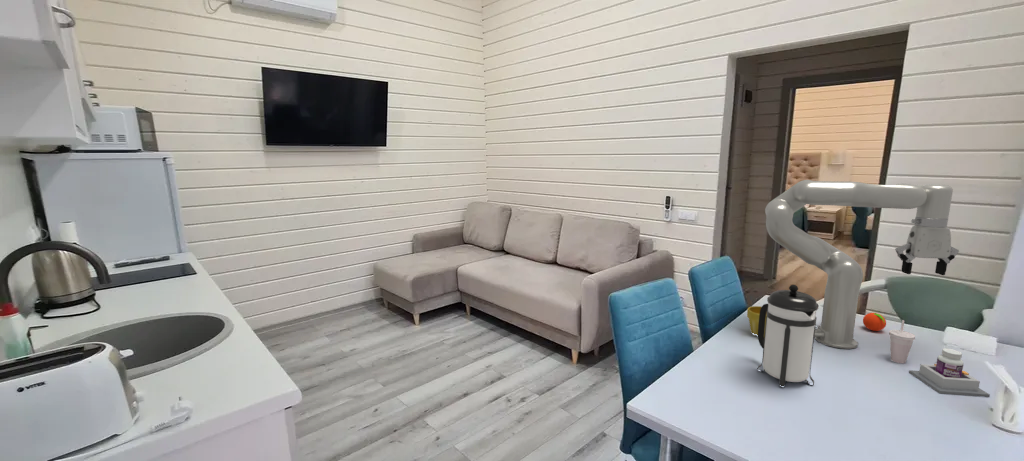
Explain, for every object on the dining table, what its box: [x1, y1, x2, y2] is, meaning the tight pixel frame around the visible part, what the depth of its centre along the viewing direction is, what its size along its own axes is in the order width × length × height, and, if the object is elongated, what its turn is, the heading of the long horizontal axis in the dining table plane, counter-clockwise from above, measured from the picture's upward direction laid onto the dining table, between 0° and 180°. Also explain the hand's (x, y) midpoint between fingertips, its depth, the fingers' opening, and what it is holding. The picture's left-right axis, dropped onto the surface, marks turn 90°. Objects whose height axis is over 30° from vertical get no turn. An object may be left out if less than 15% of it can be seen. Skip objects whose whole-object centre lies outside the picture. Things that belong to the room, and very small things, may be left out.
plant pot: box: [746, 305, 767, 336], centre depth 160 cm, size 10×10×10 cm
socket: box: [908, 363, 991, 398], centre depth 125 cm, size 12×12×4 cm
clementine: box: [862, 312, 887, 332], centre depth 162 cm, size 8×7×7 cm
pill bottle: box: [935, 348, 964, 378], centre depth 124 cm, size 5×5×10 cm
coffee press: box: [756, 284, 820, 386], centre depth 129 cm, size 17×16×30 cm
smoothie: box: [888, 319, 916, 365], centre depth 138 cm, size 6×6×14 cm
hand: (922, 273), depth 140 cm, fingers open, 9 cm apart
